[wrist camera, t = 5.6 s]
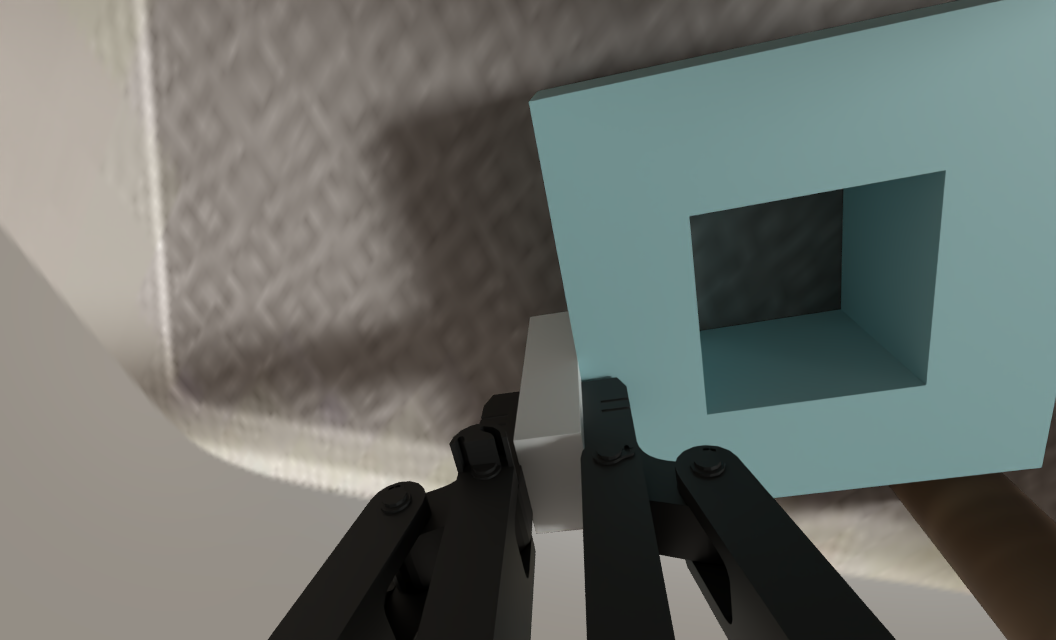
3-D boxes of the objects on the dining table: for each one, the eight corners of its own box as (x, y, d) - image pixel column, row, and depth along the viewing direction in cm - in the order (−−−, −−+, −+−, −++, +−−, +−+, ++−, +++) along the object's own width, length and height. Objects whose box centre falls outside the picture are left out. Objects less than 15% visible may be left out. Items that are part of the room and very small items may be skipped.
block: (537, 91, 17) (528, 102, 12) (970, -3, 15) (1140, -29, 11) (597, 422, 22) (607, 516, 17) (933, 376, 20) (1041, 467, 16)
